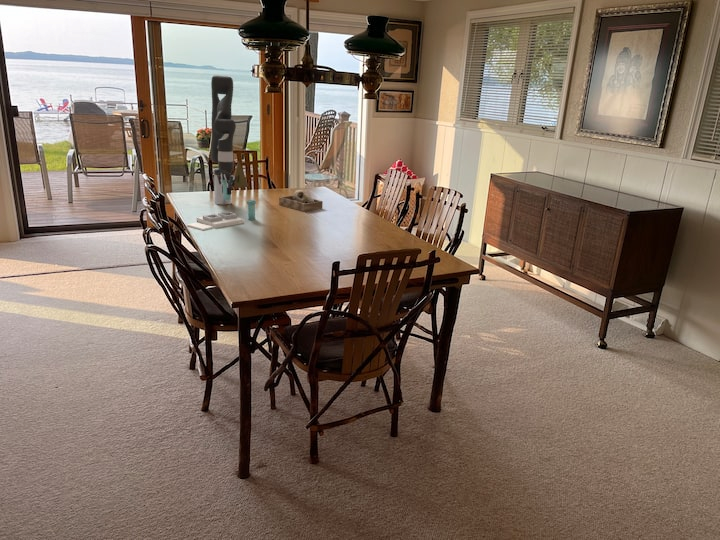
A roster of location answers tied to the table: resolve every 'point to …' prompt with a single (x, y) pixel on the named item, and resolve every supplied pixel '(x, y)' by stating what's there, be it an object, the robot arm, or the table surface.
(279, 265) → the table surface
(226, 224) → the housing
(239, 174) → the pyramid
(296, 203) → the brown wooden tray
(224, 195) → the teal flared handle
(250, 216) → the teal round-knobbed peg
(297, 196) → the animal skull replica
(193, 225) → the lid
